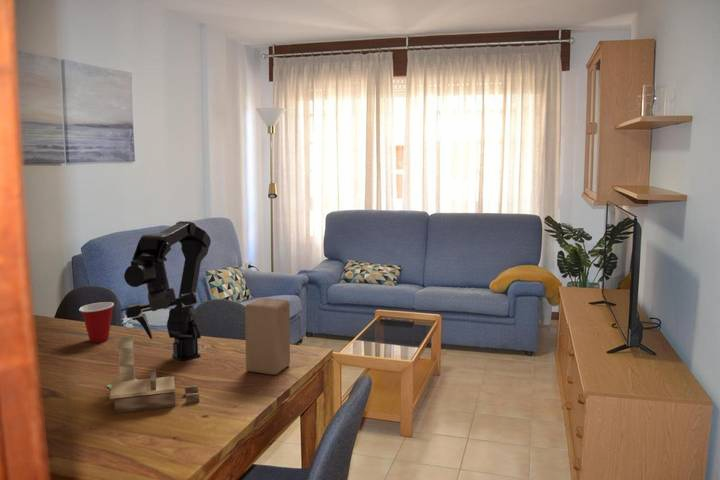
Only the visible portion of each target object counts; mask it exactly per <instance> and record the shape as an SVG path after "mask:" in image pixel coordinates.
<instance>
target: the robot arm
mask: <svg viewBox="0 0 720 480" xmlns="http://www.w3.org/2000/svg"><path fill="white" fill-rule="evenodd" d="M175 223H176V224H173V225H171V226H170V227H168V228H166V229H164V230H162V231H160V232H157V233H147V234H143V235H142V236H141V237H140V239H139V240H138V242H137V245H136V247H135V248H136V249H135V251H134V253H133V256H132V260H131V261H130V265H129V266H128V267H127V268H126V269H125V271H124V273H123V278H124V280H125V282H126V284H127V285H128V286H129V287H132V288H138V287H141V286H144V285H146V288H147V292H148V294H147V299H148V300H147V301H148V304H144V305H143V304H142V303H140V302H139V303H135V304H130V305H128V306H127V307H126V308H125V310H124V311H125V317H126V319H132V320H133V321H137V322H139V324H140V325H141V326H142V328H143V330H144V331H145V332H146V335H148V337H149V339H150V340H152V339H153V334H152V331H151V327H150V324H149V320H148V318H147V314H146V312H151V311H152V312H156V311H157V310H162V309H164V310H166V309H169V308H170V307H173V306H175V307H174V308H170V310H168V311H169V312H168V317H167V322H166V328H167V333H168V336H169V339H174V340H173V343H172V349H173V350H172V353H173V354H171V356H172V357H174V358H176V359H178V360H179V361H186V360H190V359H195V358H198V357H201V353H199V345H198V339H201V338H202V335H203V327H202V326H201V325H200V324H199V322H198V314H197V312H196V309H195V306H194V305H195V304H198V298H197V288H198V287H197V286H198V281H199V275H200V270H201V263H202V261H203V260H204V258H205V257H206V256H207V255H208V252H209V248H210V246H211V242H212V240H211V237H210V235H209V234H208V233H207V232H206V230H204V229H202V228H201V227H199V226H197V225H196V224H195V223H194V222H193V221H189V220H188V221H182V220H181V221H177V222H175ZM178 242H179V244H180V245H181V248H180V249H181V252H182V254H183V255H182V256H183V257H184V264H183V270H182V273H181V281H180V285H179V293H178V297H176V292H175V290H174V287H173V288H172V287H171V288H170V285H169V280H168V276H167V270H166V266H165V265H166V264H165V262H167V261H168V258H167V257H166V256H167V255H168V253H170V252H171V250H172V248H171V247H172V246H173V245H175V244H176V243H178Z"/></svg>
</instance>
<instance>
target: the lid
mask: <svg viewBox="0 0 720 480" xmlns="http://www.w3.org/2000/svg"><path fill="white" fill-rule="evenodd" d="M111 384H112V386H111V389H110V392H109V400H112V399H113V400H114V398H123V397H133V396H142V395H151V394H160V393H170V392H175V393H176V387H175V385H176V384H175V376H174V375H173V376H162V377H157V369H150V378H145V379H143V378H142V379H138V380H131V381H121V382H120V381H114V382H113V381H112V382H111Z"/></svg>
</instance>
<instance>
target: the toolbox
mask: <svg viewBox="0 0 720 480" xmlns="http://www.w3.org/2000/svg"><path fill="white" fill-rule="evenodd" d="M184 393H185V404H190V403H198V402H200V392H199V387H198V385H196V384H195V385H188V386H184ZM113 401H114V414H123V413H131V412H140V411H148V410H157V409H165V408H174V407H175V408H176V391H175V392H170V393H160V394H151V395H142V396H133V397H123V398H114V399H113Z"/></svg>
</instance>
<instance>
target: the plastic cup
mask: <svg viewBox="0 0 720 480" xmlns="http://www.w3.org/2000/svg"><path fill="white" fill-rule="evenodd" d="M114 305H115V304H114V302H112V301H103V302H95V303H90V304H85V305H83V306H80V308H79V309H78V310H79V312H80V313H81V315H82V317H83V321H84V325H85V328H86V332H87V335H88V339H89V341H90V342H91V343H102V342H106V341H108V340H109V337H110V332H111V331H110V330H111V324H112V323H111V322H112V315H113V308H114Z"/></svg>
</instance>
